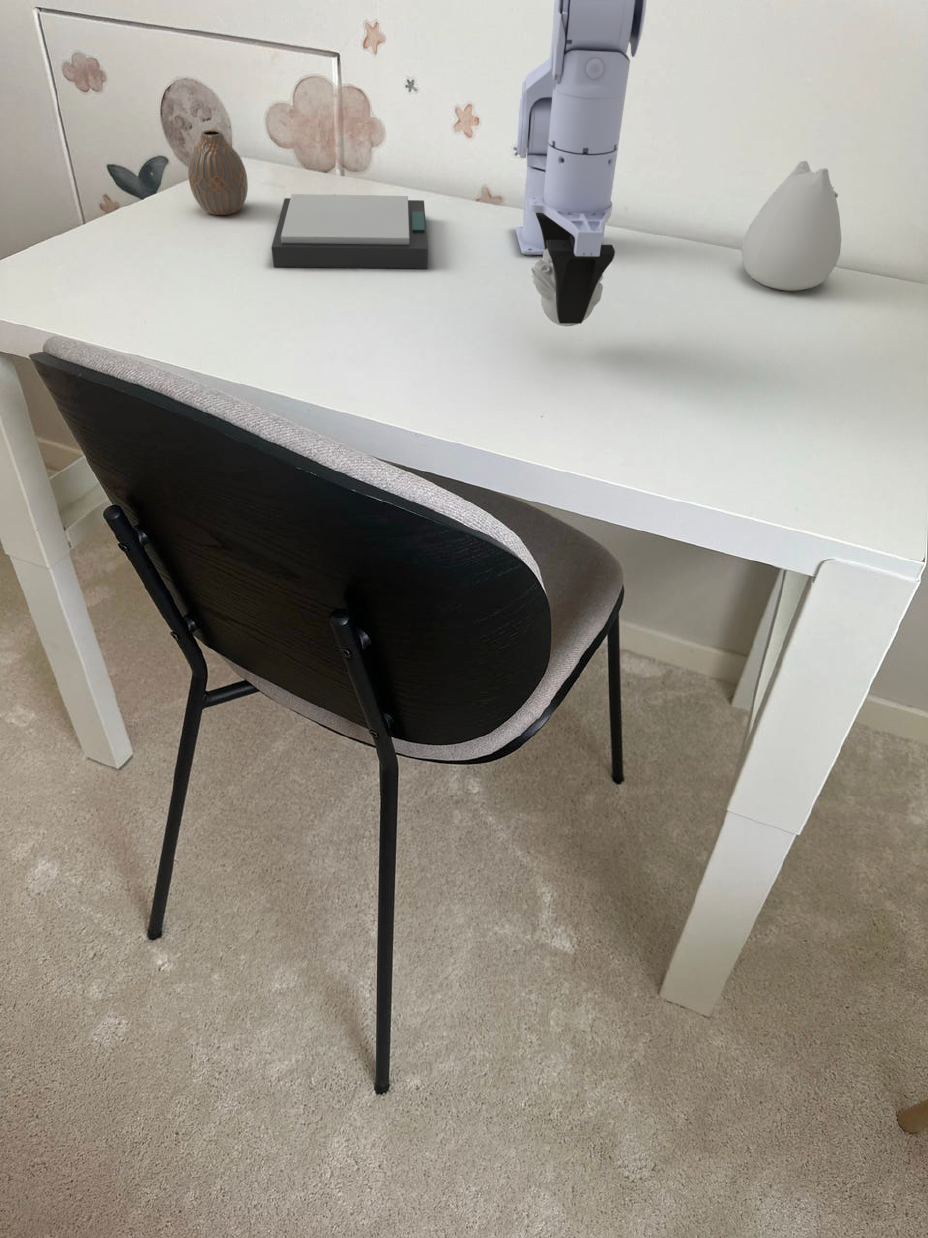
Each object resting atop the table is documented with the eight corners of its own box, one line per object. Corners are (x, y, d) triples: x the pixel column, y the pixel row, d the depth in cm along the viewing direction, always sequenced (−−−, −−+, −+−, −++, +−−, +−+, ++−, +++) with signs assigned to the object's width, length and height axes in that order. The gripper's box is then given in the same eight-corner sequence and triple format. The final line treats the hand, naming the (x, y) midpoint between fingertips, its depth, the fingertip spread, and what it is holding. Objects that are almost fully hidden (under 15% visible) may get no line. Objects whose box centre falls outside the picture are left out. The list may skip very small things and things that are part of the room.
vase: (183, 215, 109) (170, 136, 103) (211, 197, 114) (199, 121, 108) (234, 222, 108) (223, 143, 102) (260, 204, 113) (251, 128, 107)
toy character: (850, 287, 99) (888, 171, 91) (783, 305, 95) (817, 185, 87) (781, 255, 106) (811, 145, 98) (716, 271, 101) (742, 157, 93)
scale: (424, 218, 111) (424, 193, 109) (427, 268, 99) (427, 241, 97) (286, 216, 110) (283, 190, 108) (273, 267, 98) (270, 239, 96)
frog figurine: (514, 316, 84) (520, 240, 79) (579, 305, 86) (588, 231, 81) (544, 343, 80) (552, 265, 75) (611, 332, 82) (623, 255, 77)
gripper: (524, 119, 78) (513, 273, 87) (545, 171, 67) (530, 341, 76) (604, 120, 78) (585, 274, 87) (637, 173, 68) (611, 341, 77)
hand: (564, 306), depth 82 cm, fingers closed on frog figurine, 6 cm apart
